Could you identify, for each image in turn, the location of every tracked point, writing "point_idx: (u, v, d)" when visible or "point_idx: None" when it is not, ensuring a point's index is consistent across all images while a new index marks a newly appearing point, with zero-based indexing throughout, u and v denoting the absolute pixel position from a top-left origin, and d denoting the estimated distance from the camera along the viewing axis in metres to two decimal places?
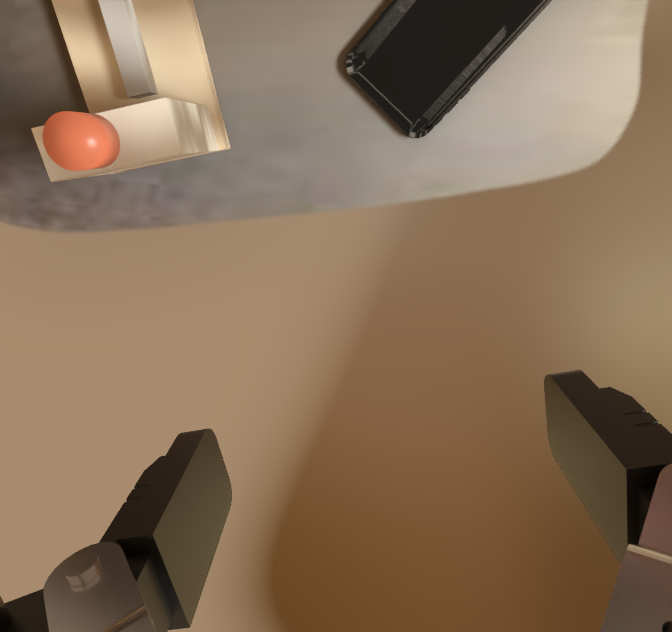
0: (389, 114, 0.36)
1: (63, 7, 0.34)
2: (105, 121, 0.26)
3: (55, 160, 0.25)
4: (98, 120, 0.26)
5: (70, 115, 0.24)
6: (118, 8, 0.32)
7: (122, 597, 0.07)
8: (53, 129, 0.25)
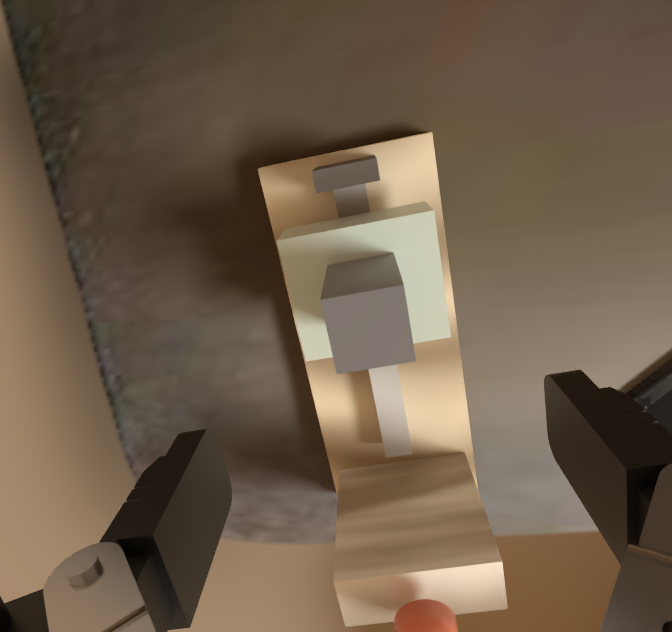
0: None
1: None
2: (450, 617, 0.22)
3: None
4: (452, 629, 0.22)
5: None
6: (391, 378, 0.28)
7: (122, 597, 0.07)
8: None
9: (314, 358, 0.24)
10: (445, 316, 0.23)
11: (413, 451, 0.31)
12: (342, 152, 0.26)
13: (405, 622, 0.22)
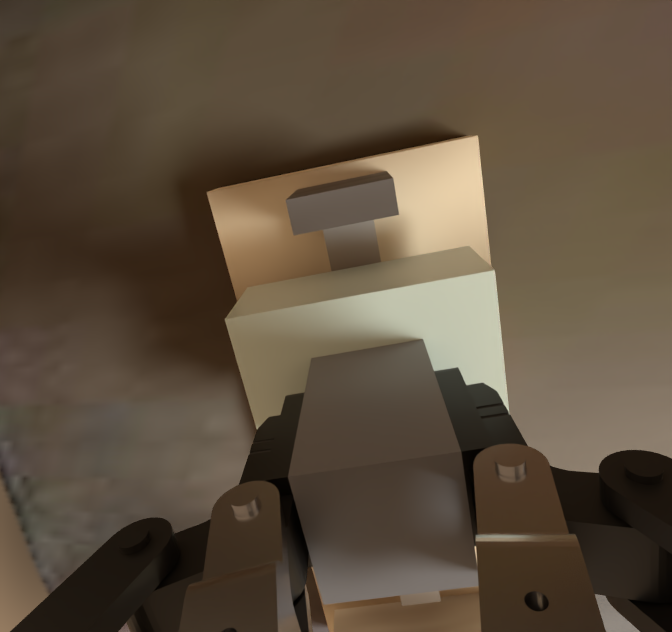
0: None
1: None
2: None
3: None
4: None
5: None
6: None
7: (267, 541, 0.08)
8: None
9: None
10: None
11: None
12: (337, 167, 0.16)
13: None
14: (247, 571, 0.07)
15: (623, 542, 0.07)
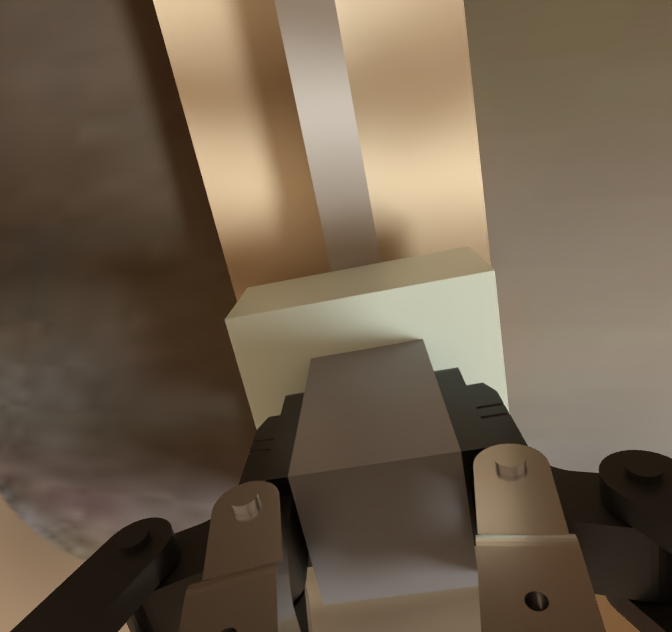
0: None
1: (250, 285, 0.18)
2: None
3: None
4: None
5: None
6: None
7: (267, 541, 0.08)
8: None
9: None
10: None
11: None
12: None
13: None
14: (247, 571, 0.07)
15: (623, 542, 0.07)
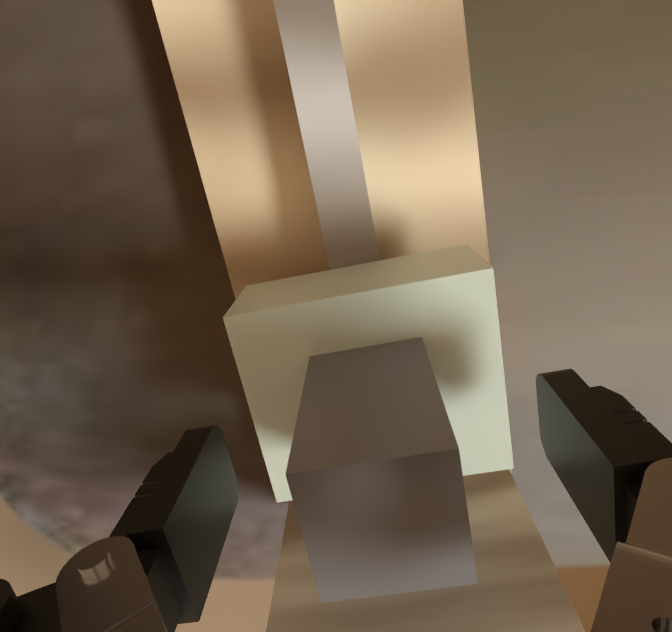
0: None
1: (249, 283, 0.18)
2: None
3: None
4: None
5: None
6: None
7: (132, 591, 0.07)
8: None
9: (290, 498, 0.15)
10: (505, 437, 0.14)
11: None
12: None
13: None
14: (124, 620, 0.06)
15: None
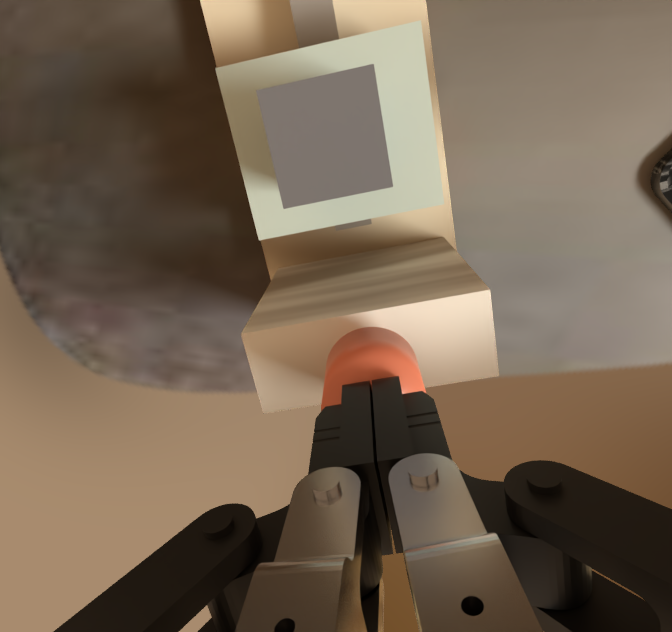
0: None
1: None
2: (408, 347, 0.15)
3: None
4: (408, 354, 0.14)
5: (383, 367, 0.13)
6: None
7: (341, 533, 0.08)
8: None
9: (269, 235, 0.19)
10: (436, 174, 0.18)
11: (375, 237, 0.24)
12: None
13: (338, 351, 0.14)
14: (315, 562, 0.07)
15: (522, 551, 0.08)
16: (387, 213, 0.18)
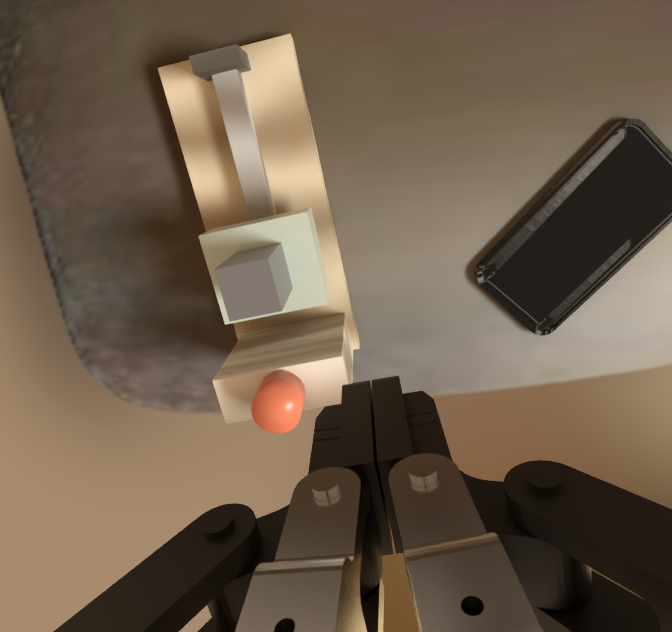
0: (516, 316, 0.38)
1: None
2: (297, 380, 0.29)
3: (260, 425, 0.28)
4: (295, 384, 0.29)
5: (278, 391, 0.28)
6: None
7: (341, 533, 0.08)
8: (262, 402, 0.28)
9: (231, 322, 0.33)
10: (322, 288, 0.32)
11: (302, 313, 0.38)
12: None
13: (262, 383, 0.29)
14: (315, 562, 0.07)
15: (522, 551, 0.08)
16: (296, 309, 0.33)
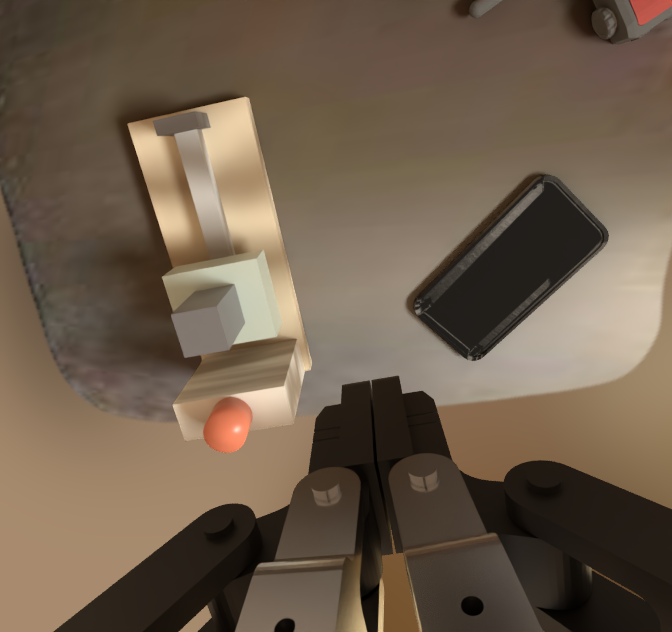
0: (450, 343, 0.43)
1: None
2: (244, 406, 0.34)
3: (211, 445, 0.33)
4: (242, 411, 0.34)
5: (225, 418, 0.32)
6: None
7: (341, 533, 0.08)
8: (212, 426, 0.33)
9: None
10: (271, 323, 0.37)
11: None
12: (184, 111, 0.37)
13: (214, 409, 0.34)
14: (314, 562, 0.07)
15: (523, 551, 0.08)
16: (249, 340, 0.37)
